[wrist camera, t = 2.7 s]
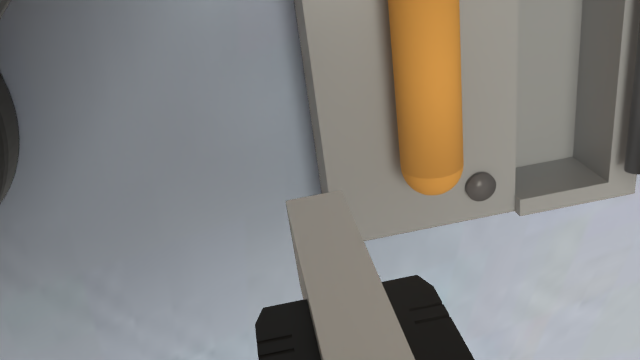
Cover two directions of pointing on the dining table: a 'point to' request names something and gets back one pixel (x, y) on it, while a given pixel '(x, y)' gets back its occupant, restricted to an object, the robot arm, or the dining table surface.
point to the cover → (634, 120)
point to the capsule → (428, 92)
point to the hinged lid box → (476, 108)
